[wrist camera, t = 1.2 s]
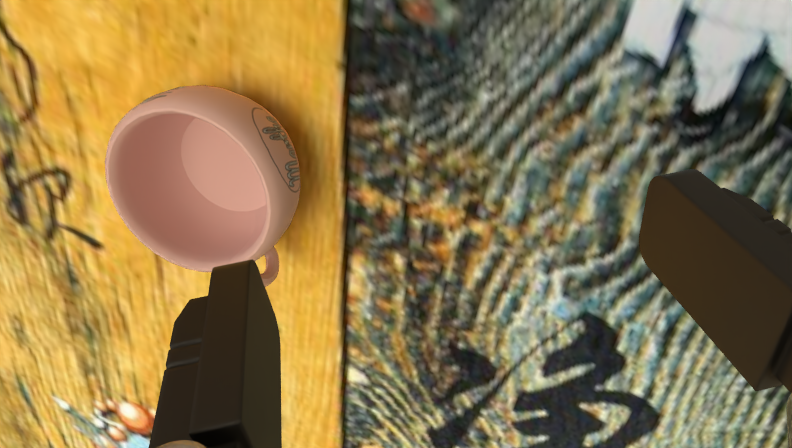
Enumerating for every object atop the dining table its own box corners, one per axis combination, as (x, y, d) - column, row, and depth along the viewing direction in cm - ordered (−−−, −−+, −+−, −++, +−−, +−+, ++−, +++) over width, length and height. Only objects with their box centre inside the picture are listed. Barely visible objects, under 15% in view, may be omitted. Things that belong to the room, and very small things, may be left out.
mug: (132, 109, 33) (59, 139, 28) (266, 44, 29) (213, 64, 24) (231, 272, 37) (185, 325, 32) (359, 232, 33) (331, 283, 28)
